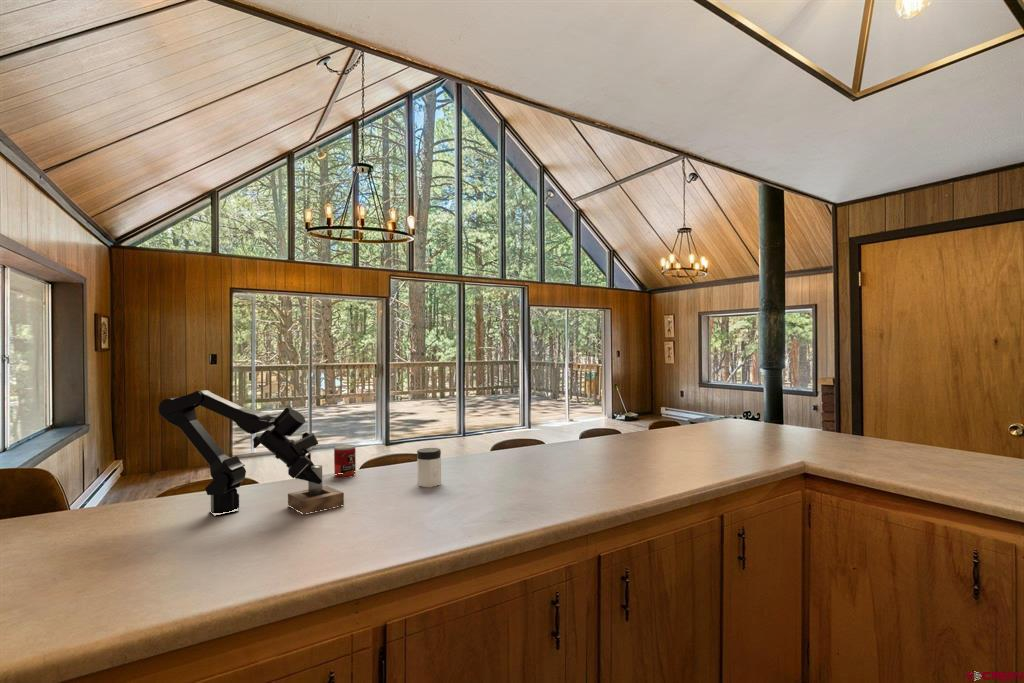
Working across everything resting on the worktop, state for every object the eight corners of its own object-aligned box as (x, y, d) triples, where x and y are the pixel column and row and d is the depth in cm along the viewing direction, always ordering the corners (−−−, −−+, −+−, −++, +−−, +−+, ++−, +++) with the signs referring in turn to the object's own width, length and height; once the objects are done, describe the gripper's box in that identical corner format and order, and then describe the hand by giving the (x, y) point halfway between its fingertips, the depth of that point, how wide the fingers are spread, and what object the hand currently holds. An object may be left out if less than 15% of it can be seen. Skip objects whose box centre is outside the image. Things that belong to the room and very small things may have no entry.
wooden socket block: (303, 515, 142) (303, 501, 142) (288, 506, 151) (287, 493, 151) (343, 505, 150) (343, 492, 151) (326, 498, 159) (326, 485, 159)
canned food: (342, 479, 183) (342, 449, 184) (330, 476, 188) (329, 446, 188) (360, 474, 189) (359, 445, 190) (347, 472, 194) (347, 443, 194)
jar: (425, 489, 168) (424, 453, 168) (412, 484, 173) (411, 450, 174) (446, 483, 174) (446, 449, 174) (433, 479, 180) (432, 446, 180)
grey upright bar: (311, 509, 148) (311, 468, 148) (306, 506, 151) (305, 466, 151) (325, 506, 151) (324, 466, 151) (319, 503, 153) (318, 464, 154)
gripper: (300, 429, 141) (342, 464, 145) (301, 421, 158) (338, 453, 162) (270, 460, 138) (313, 495, 142) (274, 448, 155) (312, 480, 159)
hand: (320, 479), depth 151 cm, fingers open, 9 cm apart
